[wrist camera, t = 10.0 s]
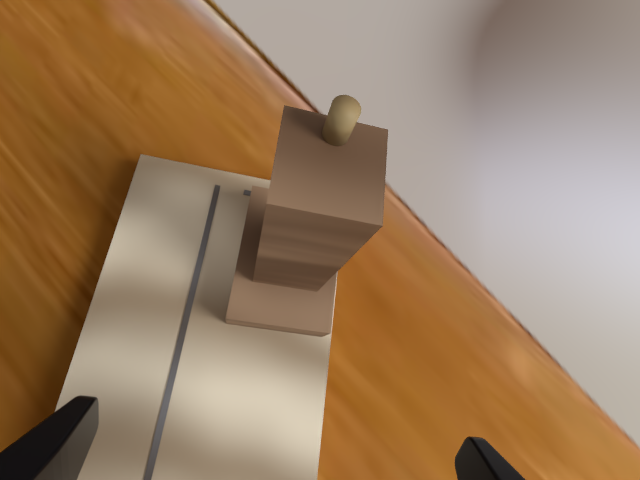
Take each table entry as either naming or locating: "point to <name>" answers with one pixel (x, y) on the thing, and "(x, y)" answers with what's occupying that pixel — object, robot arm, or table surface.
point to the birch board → (191, 346)
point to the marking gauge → (309, 219)
